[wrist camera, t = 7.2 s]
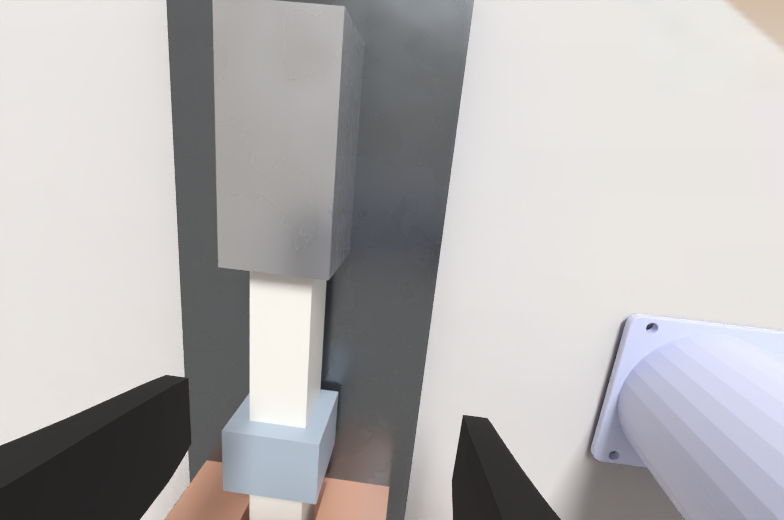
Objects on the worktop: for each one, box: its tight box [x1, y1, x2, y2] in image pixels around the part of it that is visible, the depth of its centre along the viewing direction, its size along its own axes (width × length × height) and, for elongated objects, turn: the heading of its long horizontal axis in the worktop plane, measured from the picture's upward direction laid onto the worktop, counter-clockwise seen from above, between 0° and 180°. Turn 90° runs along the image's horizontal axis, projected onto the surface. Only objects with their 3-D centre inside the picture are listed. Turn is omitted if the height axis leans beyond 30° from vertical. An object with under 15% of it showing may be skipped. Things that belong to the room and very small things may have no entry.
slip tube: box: [222, 271, 338, 520], centre depth 17 cm, size 4×16×4 cm, turn 174°
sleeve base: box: [166, 0, 474, 520], centre depth 17 cm, size 12×28×5 cm, turn 175°
